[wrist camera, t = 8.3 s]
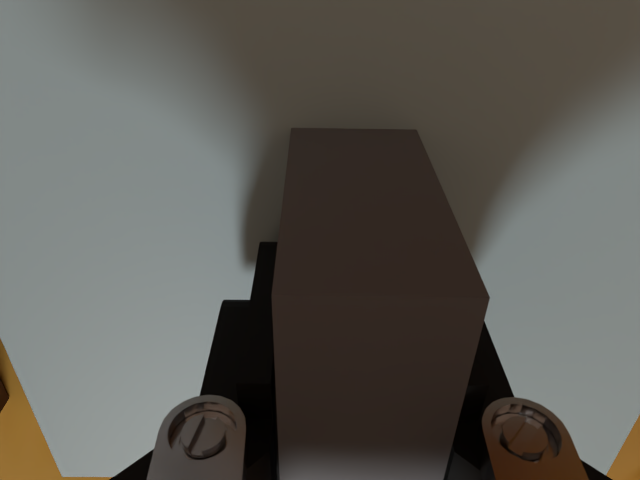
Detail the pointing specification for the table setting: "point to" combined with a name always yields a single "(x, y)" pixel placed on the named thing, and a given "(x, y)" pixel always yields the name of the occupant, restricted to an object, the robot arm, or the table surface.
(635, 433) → the table surface
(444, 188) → the lid
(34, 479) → the table surface
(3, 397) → the crate
